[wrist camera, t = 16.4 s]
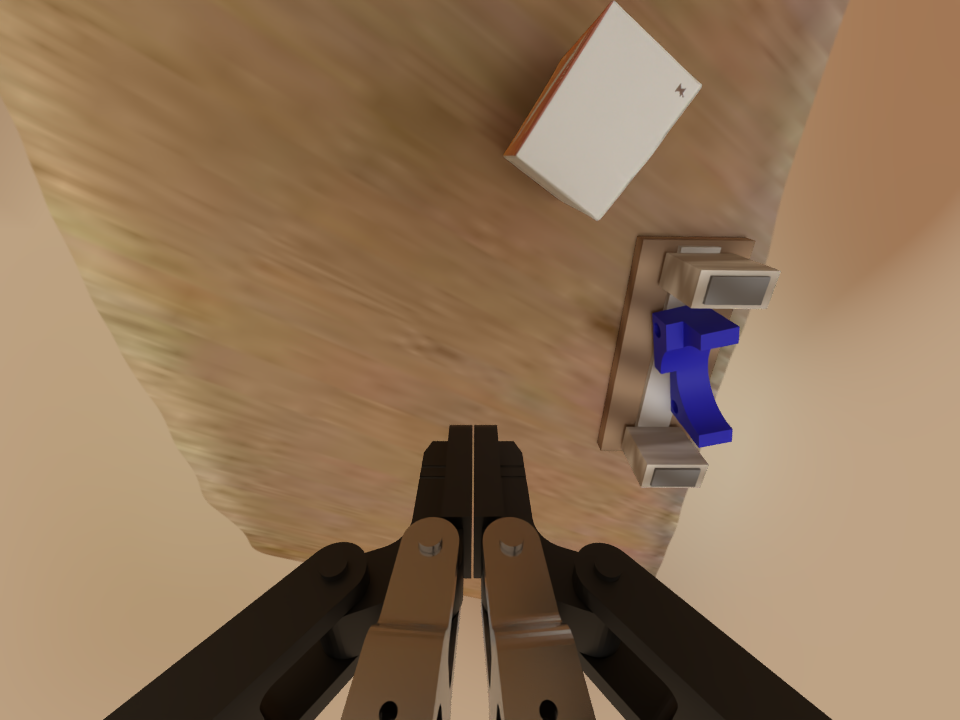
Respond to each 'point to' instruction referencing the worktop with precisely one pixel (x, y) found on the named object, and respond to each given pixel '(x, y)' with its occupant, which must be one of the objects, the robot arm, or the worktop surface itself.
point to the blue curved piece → (693, 367)
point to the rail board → (634, 379)
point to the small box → (602, 114)
